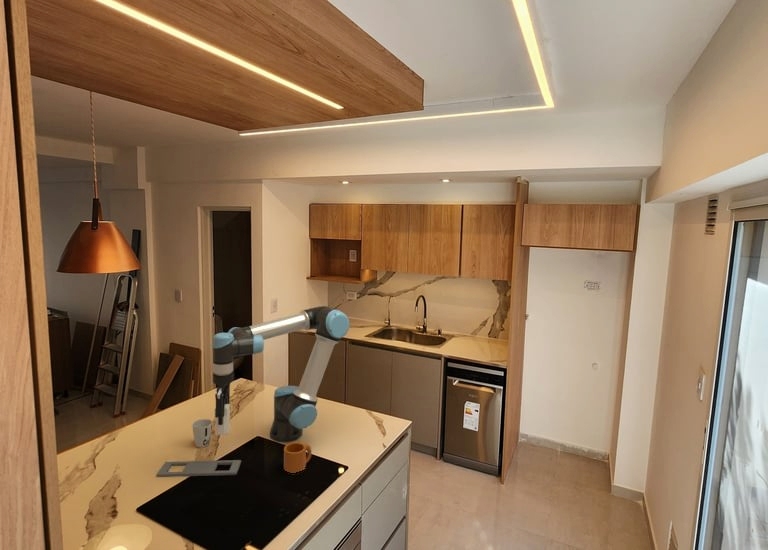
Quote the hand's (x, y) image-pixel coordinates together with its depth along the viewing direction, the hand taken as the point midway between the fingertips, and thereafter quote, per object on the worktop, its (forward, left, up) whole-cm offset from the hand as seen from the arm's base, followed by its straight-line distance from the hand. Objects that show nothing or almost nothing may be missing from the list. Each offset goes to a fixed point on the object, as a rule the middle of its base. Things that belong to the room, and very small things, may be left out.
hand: (222, 428), depth 172 cm
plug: (0, 0, -2) cm, 2 cm away
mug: (-30, 0, -18) cm, 35 cm away
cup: (+14, -20, -17) cm, 30 cm away
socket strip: (+9, 0, -17) cm, 19 cm away
